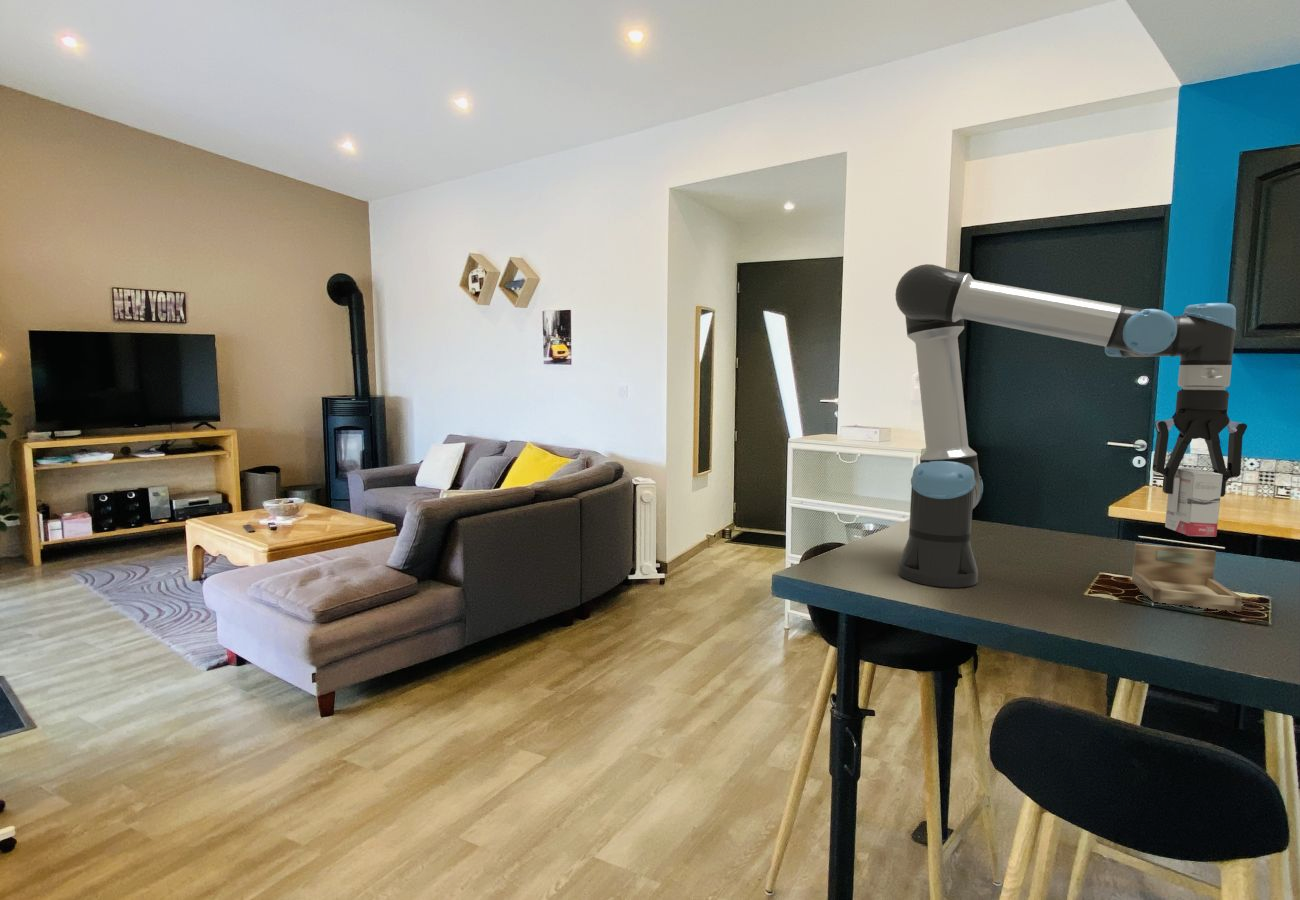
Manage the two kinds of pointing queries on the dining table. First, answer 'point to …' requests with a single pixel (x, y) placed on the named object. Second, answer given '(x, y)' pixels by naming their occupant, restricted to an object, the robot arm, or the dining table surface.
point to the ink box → (1196, 503)
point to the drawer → (1181, 577)
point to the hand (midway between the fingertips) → (1191, 512)
